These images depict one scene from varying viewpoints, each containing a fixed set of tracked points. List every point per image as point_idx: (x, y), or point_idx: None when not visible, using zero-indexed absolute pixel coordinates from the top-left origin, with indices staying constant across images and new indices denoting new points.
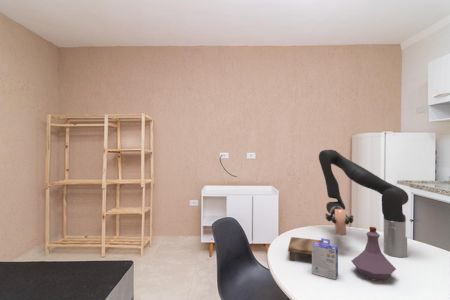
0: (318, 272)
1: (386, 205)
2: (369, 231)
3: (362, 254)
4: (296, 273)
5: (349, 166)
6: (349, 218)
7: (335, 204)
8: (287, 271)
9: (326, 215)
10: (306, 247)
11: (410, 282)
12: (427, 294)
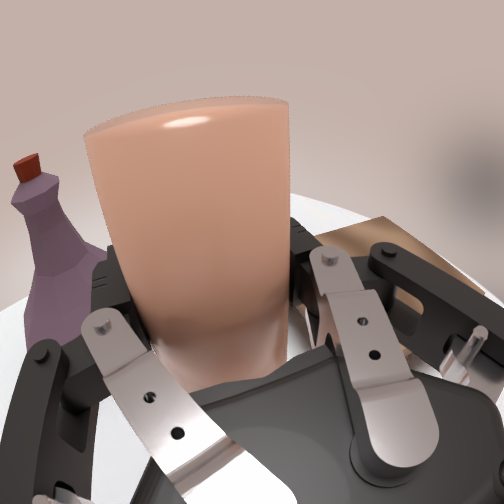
0: None
1: None
2: (43, 174)
3: (104, 257)
4: (304, 225)
5: None
6: (80, 496)
7: None
8: (327, 221)
9: (469, 297)
10: (348, 248)
11: (13, 344)
12: (8, 309)
